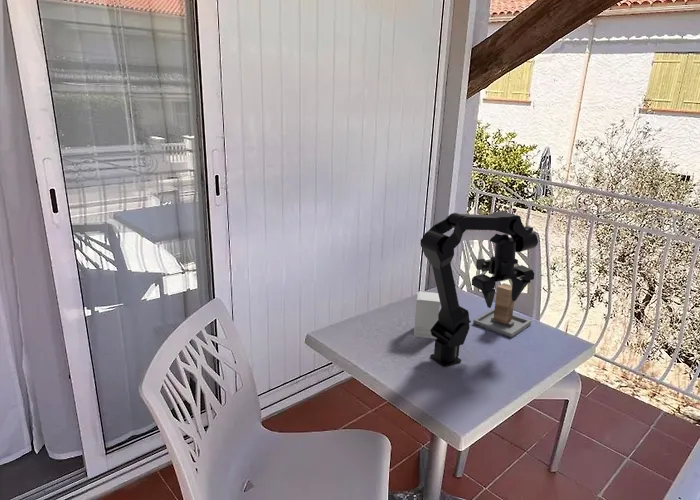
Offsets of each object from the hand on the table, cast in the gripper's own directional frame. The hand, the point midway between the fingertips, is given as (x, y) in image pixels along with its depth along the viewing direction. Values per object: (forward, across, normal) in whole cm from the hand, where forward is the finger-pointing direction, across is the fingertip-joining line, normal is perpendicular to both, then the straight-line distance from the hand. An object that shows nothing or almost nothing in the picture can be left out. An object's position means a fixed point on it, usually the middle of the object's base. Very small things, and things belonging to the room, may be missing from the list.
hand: (501, 304), depth 145 cm
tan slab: (+13, -10, -10) cm, 19 cm away
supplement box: (+12, +18, -14) cm, 26 cm away
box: (+14, -10, -10) cm, 19 cm away
